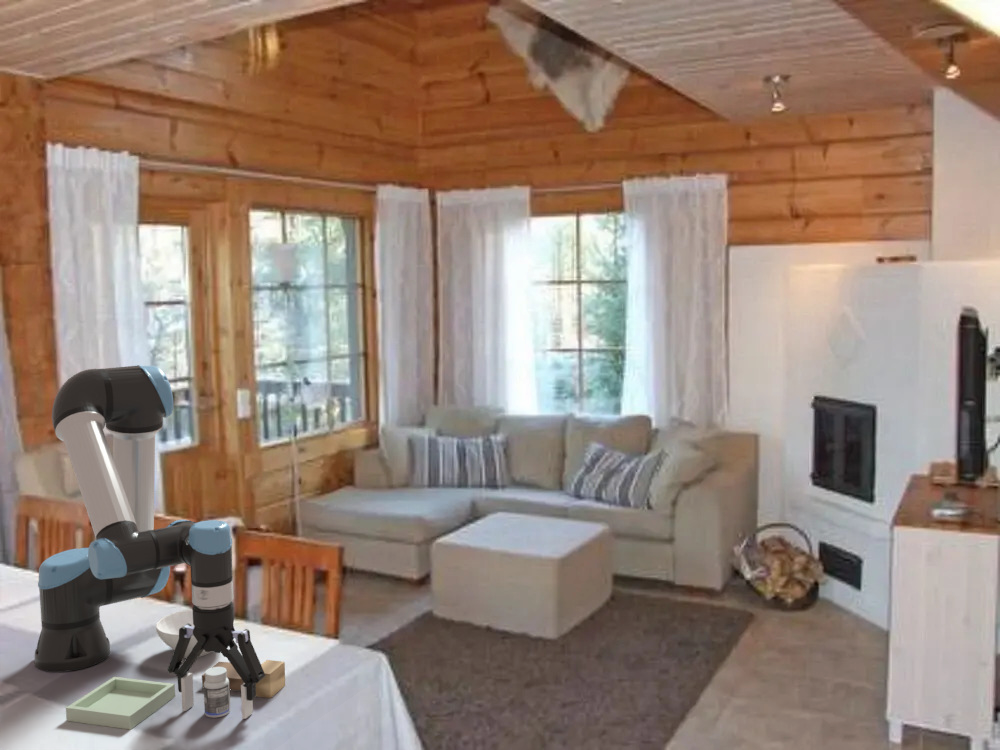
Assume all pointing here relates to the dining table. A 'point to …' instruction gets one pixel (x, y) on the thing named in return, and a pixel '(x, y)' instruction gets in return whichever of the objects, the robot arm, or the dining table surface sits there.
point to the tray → (120, 702)
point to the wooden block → (271, 679)
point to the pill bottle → (216, 692)
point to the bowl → (176, 630)
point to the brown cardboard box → (229, 676)
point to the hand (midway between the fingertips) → (217, 711)
